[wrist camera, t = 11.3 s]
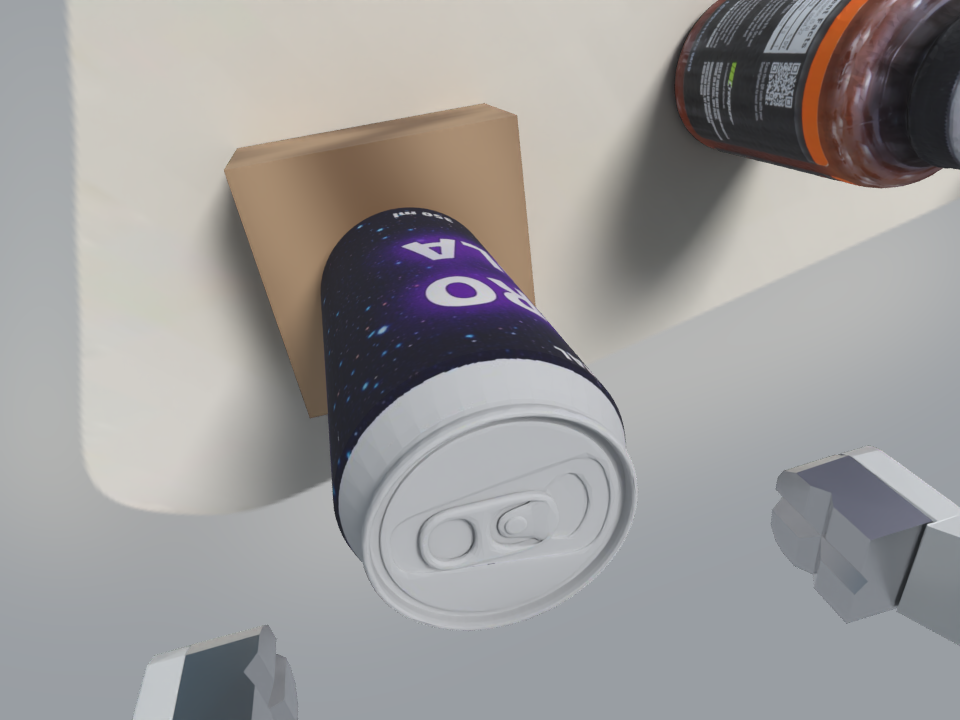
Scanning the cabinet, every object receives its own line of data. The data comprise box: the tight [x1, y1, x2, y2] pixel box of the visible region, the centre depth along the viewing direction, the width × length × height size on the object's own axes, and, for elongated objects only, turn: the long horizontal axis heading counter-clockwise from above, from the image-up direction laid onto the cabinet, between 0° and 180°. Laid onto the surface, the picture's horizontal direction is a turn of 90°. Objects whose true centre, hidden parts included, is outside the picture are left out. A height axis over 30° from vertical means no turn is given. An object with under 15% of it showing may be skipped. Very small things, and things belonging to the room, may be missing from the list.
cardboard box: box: [224, 103, 536, 418], centre depth 22 cm, size 9×9×4 cm
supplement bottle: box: [675, 0, 960, 188], centre depth 19 cm, size 6×6×11 cm
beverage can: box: [321, 207, 638, 631], centre depth 15 cm, size 6×6×12 cm
